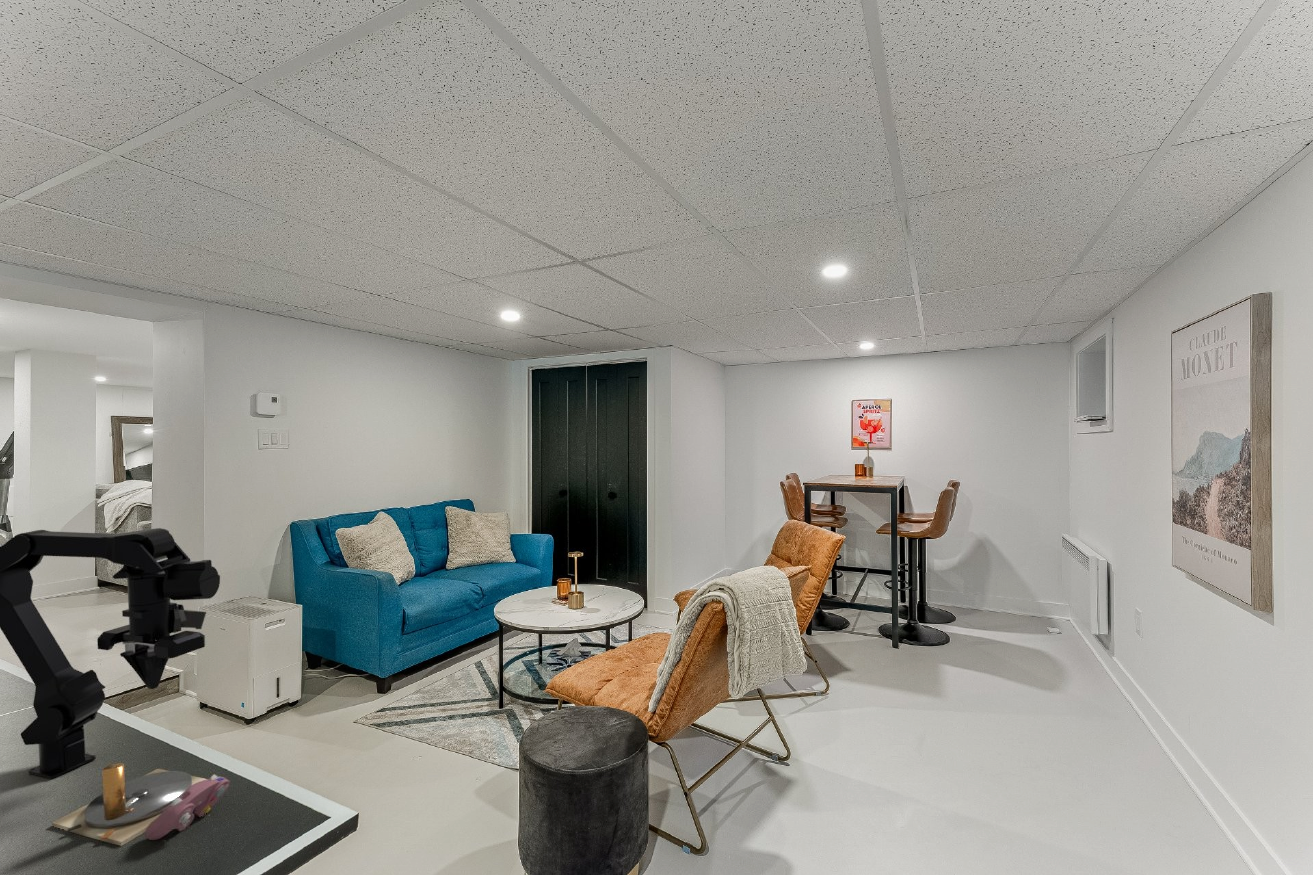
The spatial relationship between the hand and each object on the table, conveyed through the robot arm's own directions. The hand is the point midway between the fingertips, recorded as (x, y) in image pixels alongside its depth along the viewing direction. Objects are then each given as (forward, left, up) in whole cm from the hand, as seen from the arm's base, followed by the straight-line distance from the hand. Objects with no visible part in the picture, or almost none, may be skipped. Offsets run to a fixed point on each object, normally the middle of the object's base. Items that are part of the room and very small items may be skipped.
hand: (153, 688), depth 107 cm
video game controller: (+24, -10, -13) cm, 29 cm away
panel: (+12, -10, -13) cm, 20 cm away
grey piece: (+12, -10, -13) cm, 20 cm away
